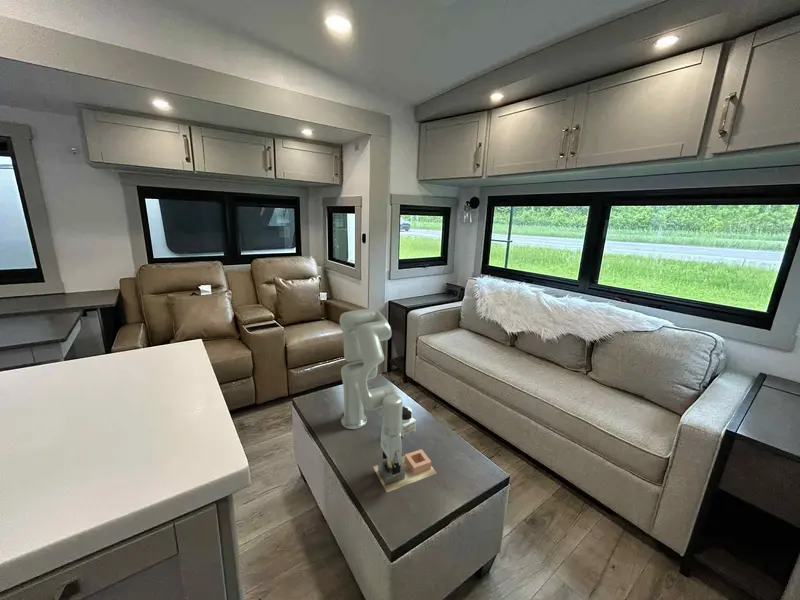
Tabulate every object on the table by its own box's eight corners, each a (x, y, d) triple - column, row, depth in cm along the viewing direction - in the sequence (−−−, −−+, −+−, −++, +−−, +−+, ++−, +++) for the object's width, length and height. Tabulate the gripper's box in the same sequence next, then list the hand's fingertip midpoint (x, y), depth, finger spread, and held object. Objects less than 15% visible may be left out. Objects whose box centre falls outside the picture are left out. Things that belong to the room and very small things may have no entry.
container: (403, 440, 152) (404, 416, 148) (392, 431, 158) (393, 408, 154) (415, 433, 157) (416, 410, 153) (405, 425, 162) (406, 402, 159)
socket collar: (404, 461, 137) (404, 454, 136) (421, 455, 141) (421, 448, 140) (413, 475, 130) (413, 468, 129) (431, 468, 134) (431, 461, 133)
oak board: (372, 469, 135) (372, 466, 134) (419, 453, 144) (419, 450, 144) (386, 495, 123) (386, 492, 122) (436, 476, 132) (437, 473, 132)
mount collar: (377, 470, 132) (377, 463, 131) (395, 464, 136) (396, 457, 135) (385, 485, 125) (385, 478, 124) (404, 478, 129) (404, 471, 128)
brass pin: (386, 473, 131) (386, 454, 129) (392, 470, 132) (393, 452, 130) (389, 478, 129) (389, 459, 126) (396, 476, 130) (396, 457, 127)
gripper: (374, 416, 130) (374, 453, 135) (392, 444, 115) (391, 484, 120) (391, 412, 134) (390, 448, 138) (411, 438, 119) (410, 478, 123)
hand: (391, 465), depth 129 cm, fingers open, 8 cm apart
